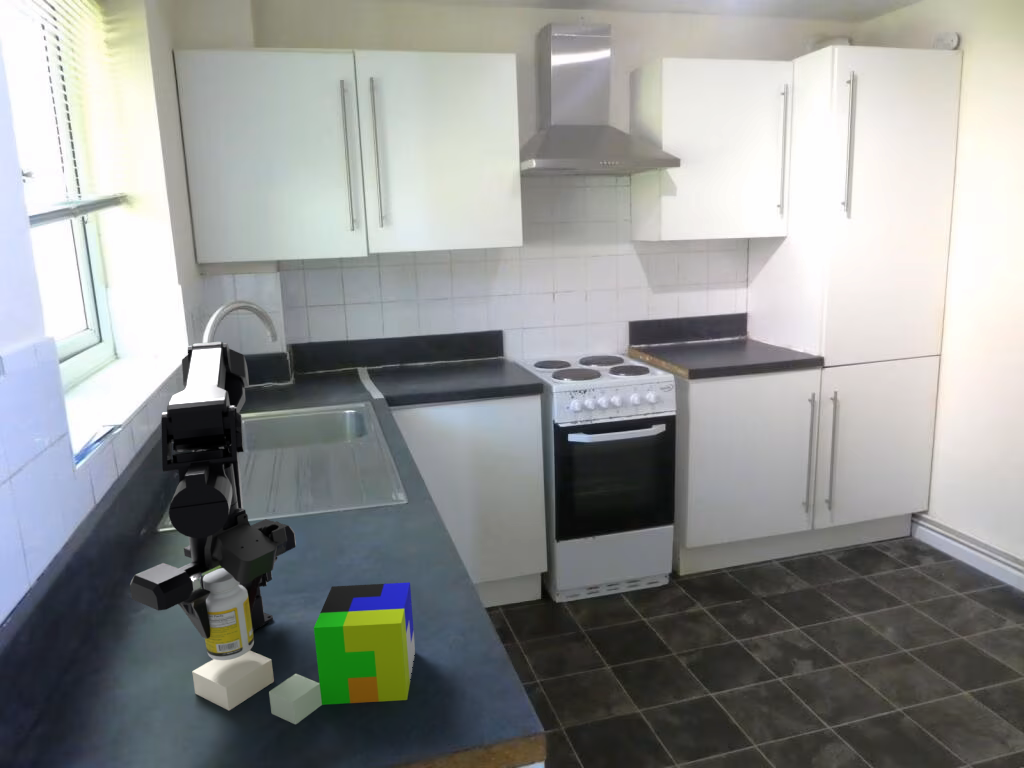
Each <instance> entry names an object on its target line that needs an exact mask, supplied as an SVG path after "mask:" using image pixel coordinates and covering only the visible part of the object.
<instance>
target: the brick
mask: <svg viewBox="0 0 1024 768" xmlns="http://www.w3.org/2000/svg"><path fill="white" fill-rule="evenodd" d="M268 696H269V703H270V711H271V715H274V716H276V717H278V718H281V719H282V720H284V721H286V722H290V723H291V724H293V725H297V724H299V723H300V722H301V721H302V720H304V719H305V718H307V717H308V716H310V715H311V714H312V713H313V712H314V711H316V710H317V709H318V708H320V707H321V706H323V705H322V701H321V692H320V683H319V681H315V680H313V679H310V678H308V677H306V676H303V675H300V674H298V673H294V674H292V675H291V676H290V677H288V678H287V679H285V680H284V681H283V682H281V683H280V684H278V685H277V686H275V687H274V688H272V689H270V690H269V691H268Z"/></svg>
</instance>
